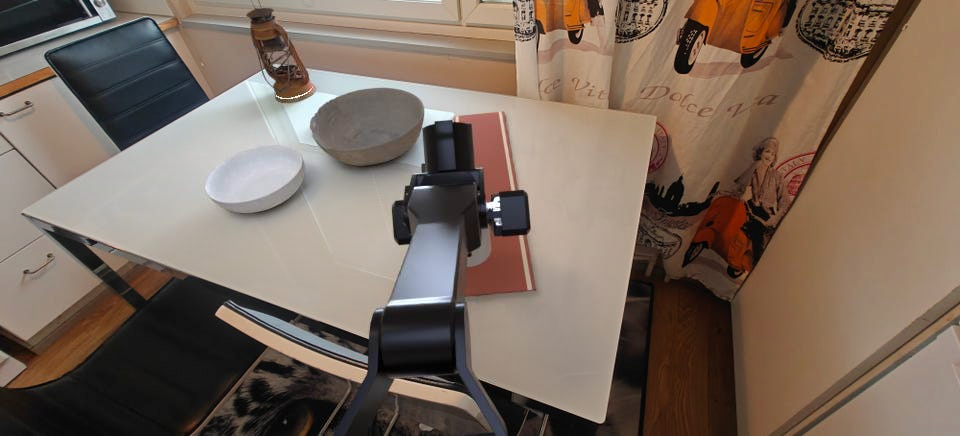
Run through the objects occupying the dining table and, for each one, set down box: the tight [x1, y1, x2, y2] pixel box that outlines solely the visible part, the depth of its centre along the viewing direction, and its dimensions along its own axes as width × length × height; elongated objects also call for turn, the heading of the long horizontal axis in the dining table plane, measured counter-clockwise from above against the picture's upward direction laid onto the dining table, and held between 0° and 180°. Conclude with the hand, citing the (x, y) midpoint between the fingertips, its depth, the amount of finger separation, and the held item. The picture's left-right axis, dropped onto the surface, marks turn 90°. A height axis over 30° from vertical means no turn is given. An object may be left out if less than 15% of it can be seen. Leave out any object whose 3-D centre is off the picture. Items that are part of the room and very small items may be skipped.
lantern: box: [245, 0, 317, 104], centre depth 121 cm, size 17×13×30 cm
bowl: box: [309, 87, 425, 167], centre depth 102 cm, size 28×28×10 cm
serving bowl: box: [204, 143, 306, 214], centre depth 92 cm, size 21×21×7 cm
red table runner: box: [453, 111, 537, 297], centre depth 91 cm, size 60×14×1 cm, turn 3°
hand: (465, 218), depth 64 cm, fingers closed on can, 7 cm apart
